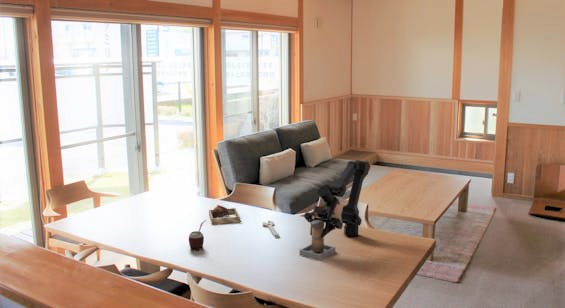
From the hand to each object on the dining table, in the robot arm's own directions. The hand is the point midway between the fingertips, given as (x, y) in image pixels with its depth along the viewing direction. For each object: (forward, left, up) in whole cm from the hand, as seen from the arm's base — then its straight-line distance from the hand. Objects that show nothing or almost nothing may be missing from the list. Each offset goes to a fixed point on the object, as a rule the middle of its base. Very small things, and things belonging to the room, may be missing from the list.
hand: (316, 236), depth 244 cm
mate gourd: (+53, -21, -9) cm, 58 cm away
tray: (-1, -1, -9) cm, 9 cm away
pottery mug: (+37, -67, -9) cm, 77 cm away
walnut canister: (-1, -1, -7) cm, 7 cm away
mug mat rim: (+35, -66, -9) cm, 75 cm away
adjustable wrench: (+14, -39, -9) cm, 42 cm away
